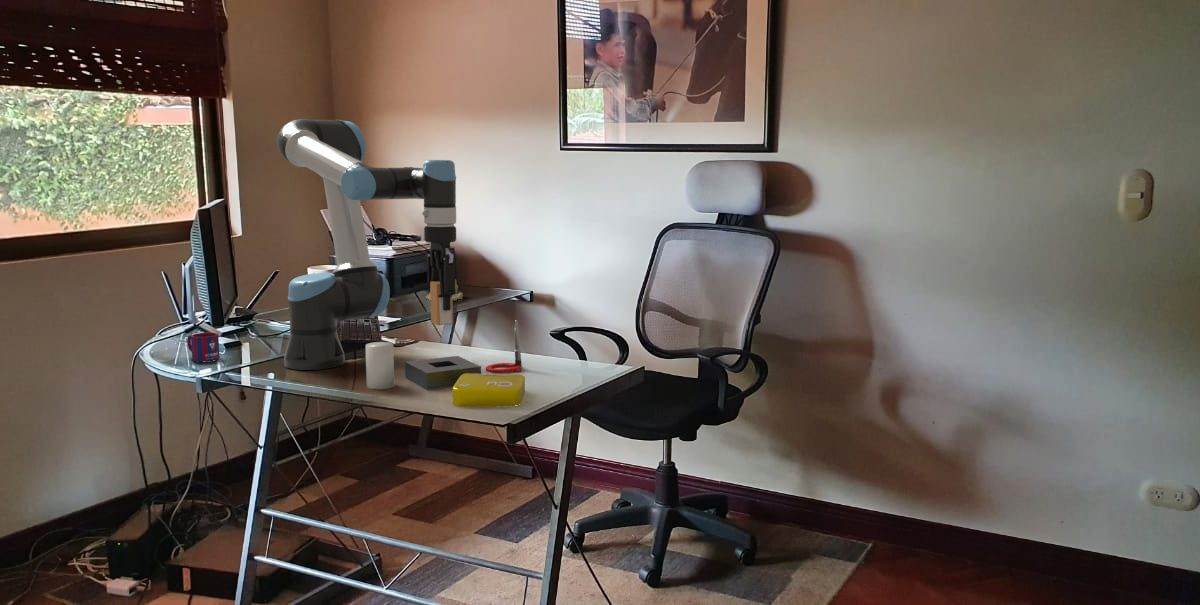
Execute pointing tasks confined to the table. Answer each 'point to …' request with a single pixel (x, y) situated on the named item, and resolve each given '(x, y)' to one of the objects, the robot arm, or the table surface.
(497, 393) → the element tile
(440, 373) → the bore block
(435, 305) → the square peg
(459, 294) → the ceramic model
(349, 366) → the table surface
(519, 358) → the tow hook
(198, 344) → the mug
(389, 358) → the round peg
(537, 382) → the table surface
